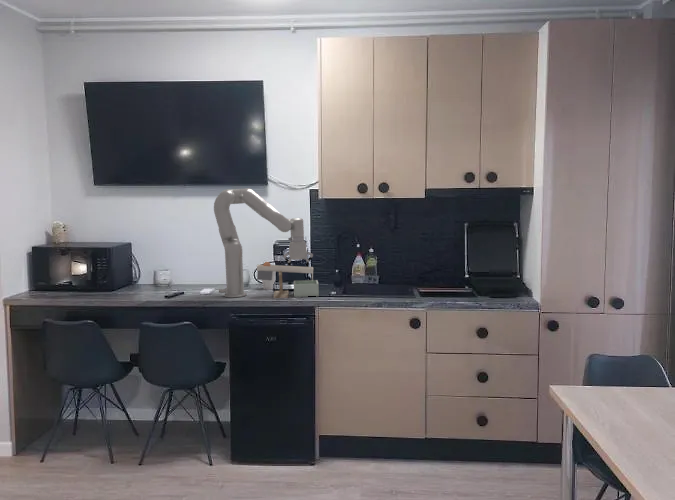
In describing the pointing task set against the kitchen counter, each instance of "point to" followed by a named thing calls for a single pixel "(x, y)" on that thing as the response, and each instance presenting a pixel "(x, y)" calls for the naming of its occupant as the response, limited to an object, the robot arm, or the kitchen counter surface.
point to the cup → (306, 288)
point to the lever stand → (281, 289)
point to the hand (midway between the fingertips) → (298, 269)
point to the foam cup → (269, 282)
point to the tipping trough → (266, 271)
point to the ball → (267, 264)
